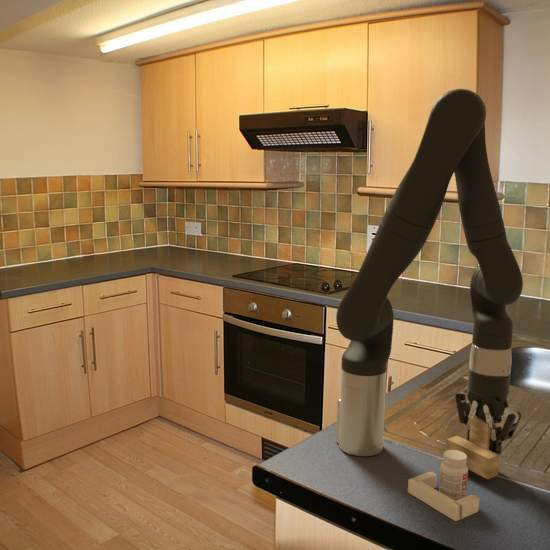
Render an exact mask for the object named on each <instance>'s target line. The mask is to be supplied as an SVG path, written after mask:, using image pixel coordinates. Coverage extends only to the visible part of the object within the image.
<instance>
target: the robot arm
mask: <svg viewBox="0 0 550 550" xmlns="http://www.w3.org/2000/svg"><path fill="white" fill-rule="evenodd" d="M430 109H431V110H430V113H429V116H428V119H427V122H426V125H425V126H426V127H425V128H424V131H423V135H422V138H421V139H420V142H419V146H418V148H417V151H416V154H415V156H414V158H413V160H412V162H411V164H410V166H409V167H408V169H407V170H406V172H405V174H404V176H403V177H402V179H401V180H400V183H399V184H398V186H397V188H396V190H395V191H394V194H392V197H391V199H390V202H389V203H388V205H387V208H386V209H385V212H384V214H383V215H382V218H381V221H380V222H379V225H378V228H377V230H376V232H375V235H374V237H373V239H372V241H371V243H370V245H369V248H368V250H367V252H366V255H365V256H364V260H363V262H362V264H361V266H360V268H359V270H358V272H357V274H356V275H355V278H354V279H353V281H352V283H351V284H350V286H349V288H348V290H346V293H345V294H344V295H343V297H342V299H341V300H340V303H339V305H338V308H337V310H336V315H335V320H336V326H337V329H338V331H339V333H340V334H341V335H342V336H343V337H344V338H345V339H346V340H349V341H350V342H349V345H348V346H347V348H346V349H345V351H344V352H343V354H342V355H341V364H340V365H341V366H340V367H341V371H340V398H339V399H338V400H337V406H336V409H337V410H336V438H335V441H336V443H337V444H338V447H339V448H340V450H341V451H343V452H344V453H346V454H348V455H351V456H357V457H371V456H372V457H373V456H377V455H378V454H380V453H381V452H382V451H383V448H384V432H385V431H384V430H385V411H386V410H385V407H386V406H385V405H386V386H387V385H386V384H387V365H388V361H389V359H390V356H391V354H392V345H393V344H392V343H393V332H394V309H393V306H392V302H391V301H390V299H389V298H388V296H389V295H388V294H389V292H391V289H392V288H393V286H394V284H395V283H396V281H397V280H398V279H400V277H401V275H402V274H403V273H404V272H405V271H406V269H408V268H409V267H410V266H411V264H412V262H414V260H415V259H416V258H417V257H418V255H419V254H420V252H421V250H422V249H423V247H424V246H425V244H426V242H427V240H428V238H429V236H430V234H431V232H432V230H433V228H434V225H435V223H436V221H437V219H438V218H439V217H438V216H439V214H440V212H441V209H442V206H443V203H444V200H445V197H446V194H447V191H448V188H449V184H450V182H451V179H452V177H453V175H454V177H455V185H456V193H457V201H458V202H457V203H458V207H459V208H458V209H459V215H460V220H461V225H462V230H463V233H464V238H465V243H466V247H467V248H468V251H469V253H470V254H471V255H472V256H473V257H475V259H476V260H477V262H478V263H477V264H478V266H477V267H476V268H475V270H474V271H473V273H472V275H471V279H470V284H469V293H470V301H471V302H470V303H471V304H470V305H471V311H472V315H473V328H472V339H471V342H472V343H471V347H470V348H471V349H470V353H469V363H468V365H469V367H468V376H467V377H468V380H467V389H468V392H467V391H462V392H457V393H456V394H455V396H454V397H455V401H456V409H457V413H458V419H459V422H460V423H461V424H463V425H465V427H466V429H467V436H466V437H467V438H466V440H468V441H469V436H470V421H471V417H473V418H475V417H476V416H477V417H479V418H483V419H485V420H486V422H487V424H489V425H488V427H489V428H490V435H491V439H490V445H489V450H490V451H492V452H494V453H496V454H498V455H500V456H501V453H502V447H503V442H505V441H507V440H510V439H512V438H513V437H514V434H515V433H516V430H517V427H518V426H519V425H518V424H519V423H520V420H521V418H522V414H521V412H520V411H514V410H512V409H511V408H510V407H509V403H508V396H509V393H510V385H511V383H510V382H511V371H512V361H513V360H512V356H513V355H512V343H513V342H512V341H513V333H514V332H513V327H514V326H513V320H512V318H511V317H510V316H509V315H508V313H507V311H506V310H507V309H506V306H508V305H512V304H513V303H515V302H517V301H518V300H519V298H520V296H521V295H522V291H523V288H524V286H523V285H524V284H523V283H524V281H523V275H522V272H521V268H520V266H519V263H518V262H517V259H516V257H515V254H514V251H513V250H512V248H511V246H510V244H509V241H508V239H507V232H506V227H505V224H504V219H503V215H502V210H501V206H500V202H499V198H498V195H497V191H496V187H495V184H494V180H493V176H492V173H491V167H490V163H489V158H488V152H487V144H486V118H487V109H486V105H485V102H484V101H483V99H482V97H481V96H480V95H478V94H477V93H476V92H474V91H473V90H470V89H465V88H456V89H451V90H448V91H446V92H444V93H443V94H441V95H440V96H439V97H438V98H437V99H436V100H435V101H434V103H433V105H432V107H431V108H430ZM503 415H504V416H503ZM495 420H497V422H495V423H494V422H493V421H495ZM496 429H497V430H496Z"/></svg>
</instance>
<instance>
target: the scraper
mask: <svg viewBox="0 0 550 550" xmlns="http://www.w3.org/2000/svg"><path fill="white" fill-rule="evenodd" d="M493 422H494V423H495V422H497V420H495V421H493ZM488 425H489V424H487V422H486V420H485V419H483V418H479V417H477V416H476V417H475V418H473V417H471V421H470V436H469V441H468V440H467V438H466V439H465V438H463V437H461V436H459V435H455V436H452V437H449V438H446V447H445V448H446V449H445V451H447V450H457V451H461V452H463V453H465V454H466V456H467V463H466V466H467V467H468V471H471V472H473V473H474V474H476V475H478V476H480V477H482V478H485V479H487V480H489V479H492V478H495V477H496V476H499V470H500V469H499V466H500V456H501V454H500V455H498V454H496V453H494V452H492V451H490V450H489V445H490V439H491V435H490V428H489V427H488ZM496 430H497V429H496Z"/></svg>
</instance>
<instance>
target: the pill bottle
mask: <svg viewBox="0 0 550 550" xmlns="http://www.w3.org/2000/svg"><path fill="white" fill-rule="evenodd" d="M466 463H467V456H466V454H465V453H463V452H461V451H457V450H447V451H446V450H445V451H443V455H442V462H441V463H440V467H439V483H438V484H439V485H438V491H439V492H441V493H443V494H444V495H446V496H448V497H449V498H451V499H453V500H455V501H457V500H459V499H462V498H464V497H467V489H468V478H469V477H468V476H469V470H468V467H467V466H466Z"/></svg>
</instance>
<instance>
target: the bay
mask: <svg viewBox="0 0 550 550" xmlns="http://www.w3.org/2000/svg"><path fill="white" fill-rule="evenodd" d="M437 479H438V475H437V474H436V473H435V472H433V471H428V472H425V473H422V474H420V475H417V476H414V477H411V478H409V479H408V483H407V485H408V486H407V493H408V494H409V495H412V496H413V497H416V498H417V499H418V500H420V501H421V502H423V503H425V504H426V505H428V506H430V507H431V508H433V509H435V510H436V511H438V512H439V513H441V514H442V515H445V516H446V517H448V518H449V519H451V520H452V521H454V522H458V521H460V520H462V519H464V518H467V517H469V516H471V515H474V514H476V513H478V512H479V506H480V497H478V496H476V495H475V494H472V493H471V494H470V495H466V497H464V498H462V499H459V500H457V501H455V500H453V499H451V498H449V497H448V496H446V495H444V494H443V493H441V492H439V490H437V489H435V488H437Z"/></svg>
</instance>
